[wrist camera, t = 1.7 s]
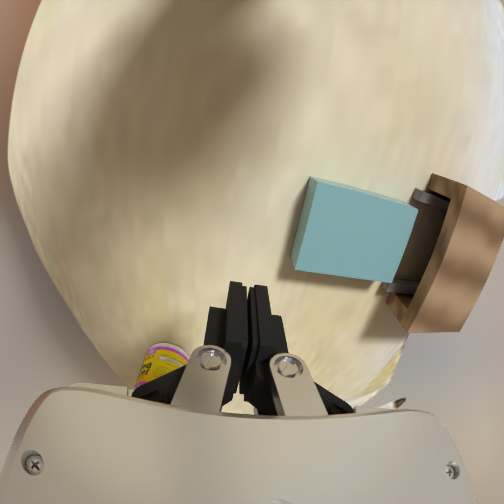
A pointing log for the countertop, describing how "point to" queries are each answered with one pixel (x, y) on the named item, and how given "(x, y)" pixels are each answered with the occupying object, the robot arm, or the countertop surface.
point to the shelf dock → (451, 261)
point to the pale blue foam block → (351, 232)
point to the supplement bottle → (161, 362)
